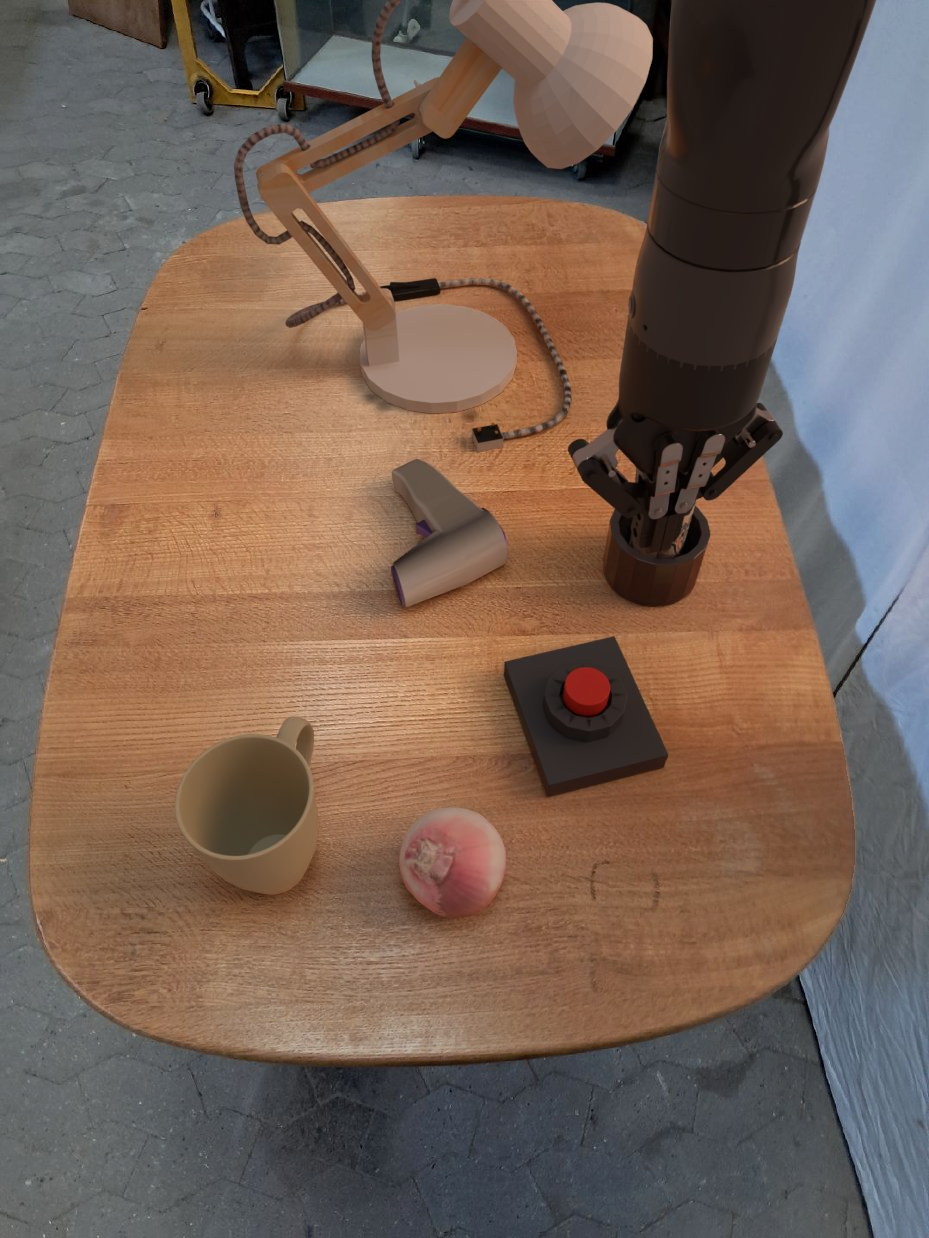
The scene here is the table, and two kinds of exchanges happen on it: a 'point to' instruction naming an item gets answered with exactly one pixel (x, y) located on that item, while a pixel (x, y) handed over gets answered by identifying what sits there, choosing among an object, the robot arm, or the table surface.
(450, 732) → the table surface
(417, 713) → the table surface
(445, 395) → the desk lamp
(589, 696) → the button
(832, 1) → the robot arm
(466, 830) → the onion
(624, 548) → the holder
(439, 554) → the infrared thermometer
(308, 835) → the mug
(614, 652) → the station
